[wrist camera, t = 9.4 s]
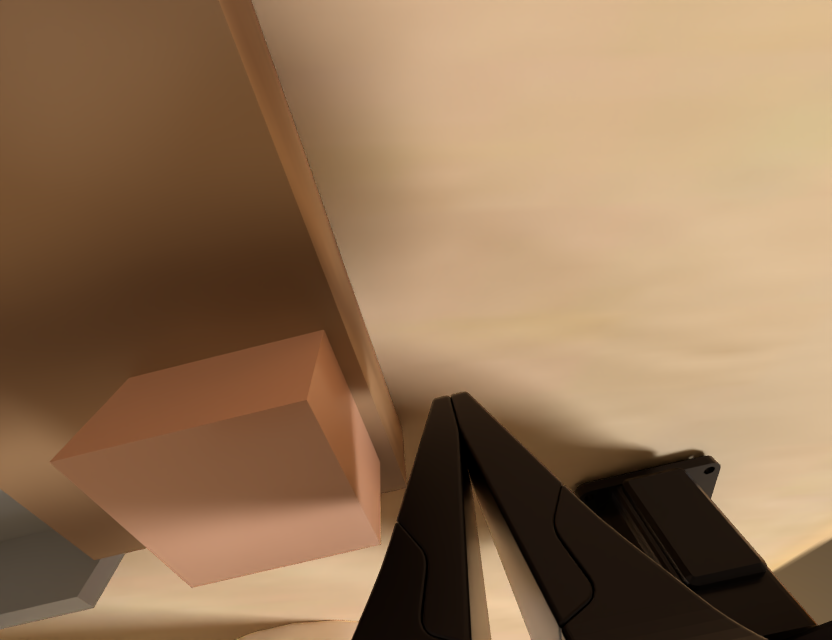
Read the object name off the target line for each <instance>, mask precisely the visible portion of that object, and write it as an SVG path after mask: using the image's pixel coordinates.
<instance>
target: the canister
mask: <svg viewBox="0 0 832 640" xmlns="http://www.w3.org/2000/svg"><path fill="white" fill-rule="evenodd" d="M358 623H359V621H345V620H328V621H315V622H302V623H291V624H287V625H283V626H278V627H274V628H270V629H265V630H261V631H256V632H252V633H250V634H247V635H245V636H243V637H240V638H238V639H236V640H351V639H352V637H353V634H354V632H355V630H356V627H357V625H358Z"/></svg>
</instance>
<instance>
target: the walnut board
mask: <svg viewBox="0 0 832 640" xmlns="http://www.w3.org/2000/svg"><path fill="white" fill-rule="evenodd" d="M320 330H324V331H325V333H326V335H327V338H328V340H329V342H330V345H331V347H332V349H333V352H334V354H335V357H336V359H337V361H338V364H339V366H340V368H341V371H342V373H343V375H344V378H345V380H346V383H347V385H348V387H349V390H350V392H351V394H352V397H353V399H354V401H355V404H356V406H357V409H358V411H359V413H360V416H361V418H362V420H363V423H364V425H365V427H366V430H367V432H368V435H369V437H370V439H371V442H372V444H373V446H374V449H375V451H376V453H377V456H378V458H379V461H380V494H382V493H386V492H390V491H394V490H399V489H403V488H407V482H406V469H405V457H404V445H403V432H402V428H401V425H400V422H399V420H398V417H397V414H396V411H395V408H394V405H393V403H392V400H391V397H390V394H389V391H388V388H387V386H386V383H385V380H384V377H383V374H382V371H381V368H380V366H379V363H378V360H377V357H376V354H375V351H374V349H373V346H372V343H371V340H370V337H369V334H368V332H367V329H366V326H365V323H364V320H363V317H362V314H361V312H360V309H359V306H358V303H357V300H356V297H355V295H354V292H353V289H352V286H351V283H350V280H349V278H348V275H347V272H346V269H345V266H344V263H343V260H342V258H341V255H340V252H339V249H338V246H337V243H336V241H335V238H334V235H333V232H332V229H331V226H330V223H329V221H328V218H327V215H326V212H325V209H324V206H323V204H322V201H321V198H320V195H319V192H318V189H317V187H316V184H315V181H314V178H313V175H312V172H311V169H310V167H309V164H308V161H307V158H306V155H305V152H304V150H303V147H302V144H301V141H300V138H299V135H298V133H297V130H296V127H295V124H294V121H293V118H292V115H291V113H290V110H289V107H288V104H287V101H286V98H285V96H284V93H283V90H282V87H281V84H280V81H279V79H278V76H277V73H276V70H275V67H274V64H273V61H272V59H271V56H270V53H269V50H268V47H267V44H266V42H265V39H264V36H263V33H262V30H261V27H260V25H259V22H258V19H257V16H256V13H255V10H254V7H253V5H252V2H251V0H0V489H1V490H2V491H4V492H5V493H6V494H8V495H9V496H10V497H12V498H13V499H14V500H16V501H17V502H18V503H19V504H21V505H22V506H23V507H25V508H26V509H27V510H29V511H30V512H31V513H33V514H34V515H35V516H37V517H38V518H39V519H40V520H42V521H43V522H44V523H46V524H47V525H48V526H50V527H51V528H52V529H54V530H55V531H56V532H58V533H59V534H60V535H62V536H63V537H64V538H65V539H67V540H68V541H69V542H71V543H72V544H73V545H75V546H76V547H77V548H79V549H80V550H81V551H83V552H84V553H85V554H86V555H88V556H89V557H90V558H92V559H93V560H98V559H102V558H106V557H111V556H115V555H119V554H124V553H128V552H132V551H136V550H141V549H145V548H146V547H145V546H144V545H143V544H142V543H140V542H139V541H138V540H137V539H136V538H135V537H134V536H133V535H131V534H130V533H129V532H128V531H127V530H126V529H125V528H123V527H122V526H121V525H120V524H119V523H118V522H117V521H116V520H114V519H113V518H112V517H111V516H110V515H109V514H108V513H106V512H105V511H104V510H103V509H102V508H101V507H100V506H99V505H97V504H96V503H95V502H94V501H93V500H92V499H91V498H89V497H88V496H87V495H86V494H85V493H84V492H83V491H82V490H80V489H79V488H78V487H77V486H76V485H75V484H74V483H72V482H71V481H70V480H69V479H68V478H67V477H66V476H65V475H63V474H62V473H61V472H60V471H59V470H58V469H57V468H55V467H54V466H53V465H52V464H51V463H50V461H51V460H52V459H53V458H54V457H55V456H56V454H57V453H58V452H59V451H60V450H61V449H62V448H63V447H64V446H65V445H66V444H67V443H68V442H69V441H70V440H71V439H72V438H73V436H74V435H75V434H76V433H77V432H78V431H79V430H80V429H81V428H82V427H83V426H84V425H85V424H86V423H87V422H88V421H89V420H90V419H91V417H92V416H93V415H94V414H95V413H96V412H97V411H98V410H99V409H100V408H101V407H102V406H103V405H104V404H105V403H106V402H107V401H108V400H109V398H110V397H111V396H112V395H113V394H114V393H115V392H116V391H117V390H118V389H119V388H120V387H121V386H122V385H123V384H124V383H125V382H126V380H127V379H128V378H131V377H135V376H139V375H143V374H147V373H151V372H155V371H159V370H163V369H167V368H171V367H175V366H179V365H183V364H187V363H191V362H195V361H199V360H203V359H207V358H211V357H215V356H219V355H223V354H227V353H231V352H235V351H239V350H243V349H247V348H251V347H256V346H260V345H264V344H268V343H272V342H276V341H280V340H284V339H288V338H292V337H296V336H300V335H304V334H308V333H312V332H316V331H320Z"/></svg>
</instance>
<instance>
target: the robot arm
mask: <svg viewBox="0 0 832 640" xmlns="http://www.w3.org/2000/svg"><path fill="white" fill-rule="evenodd" d="M468 471H469V472H468ZM719 471H720V465H719V463H718V462H717V461H716V460H715V459H714V458H713V457H712V456H702V457H698V458H694V459H689V460H685V461H681V462H676V463H672V464H668V465H663V466H659V467H655V468H650V469H646V470H641V471H637V472H633V473H628V474H624V475H620V476H615V477H611V478H607V479H602V480H598V481H593V482H589V483H585V484H582V485H580V486H579V487H577V489H576V490H575V494H574V493H573V492H571V491H570V490H569V489H568V488H567V487H566V486H565V485H563V486H562V482H561V481H560V480H559V479H558V478H557V477H556V476H554V475H553V474H552V473H551V472H550V471H549V470H548V469H547V468H546V467H545V466H544V465H543V464H542V463H541V462H540V461H539V460H538V459H537V458H536V457H535V456H534V455H533V454H531V453H530V452H529V451H528V450H527V449H526V448H525V447H524V446H523V445H522V444H521V443H520V442H519V441H518V440H517V439H516V438H515V437H514V436H513V435H512V434H511V433H509V432H508V431H507V430H506V429H505V428H504V427H503V426H502V425H501V424H500V423H499V422H498V421H497V420H496V419H495V418H494V417H493V416H492V415H491V414H490V413H489V412H488V411H486V410H485V409H484V408H483V407H482V406H481V405H480V404H479V403H478V402H477V401H476V400H475V399H474V398H473V397H472V396H471V395H470V394H469V393H467V392H460V393H456V394H452V395H451V398H450V397H449V396H443V397H439V398H435V399H434V400H433V402H432V405H431V409H430V412H429V415H428V419H427V422H426V425H425V428H424V432H423V435H422V438H421V442H420V445H419V448H418V451H417V455H416V458H415V461H414V465H413V468H412V471H411V474H410V478H409V481H408V484H407V488H406V491H405V494H404V497H403V501H402V504H401V507H400V511H399V514H398V517H397V523H396V524H395V527H394V530H393V533H392V536H391V540H390V543H389V546H388V549H387V552H386V555H385V558H384V561H383V564H382V566H381V569H380V572H379V574H378V577H377V579H376V582H375V584H374V587H373V589H372V592H371V594H370V597H369V599H368V602H367V604H366V606H365V609H364V611H363V613H362V616H361V618H360V620H359V623H358V625H357V627H356V630H355V632H354V634H353V637H352V639H351V640H491V633H490V625H489V617H488V609H487V601H486V594H485V586H484V578H483V570H482V562H481V554H480V547H479V539H478V531H477V523H476V515H475V507H474V499H473V492H472V486H471V482H472V485H473V488H474V491H475V494H476V497H477V499H478V502H479V505H480V507H481V510H482V512H483V515H484V518H485V520H486V523H487V525H488V528H489V531H490V533H491V536H492V538H493V541H494V544H495V546H496V549H497V551H498V554H499V557H500V559H501V562H502V565H503V567H504V570H505V572H506V575H507V578H508V580H509V583H510V585H511V588H512V591H513V593H514V596H515V598H516V601H517V604H518V606H519V609H520V611H521V614H522V617H523V619H524V622H525V625H526V627H527V630H528V632H529V635H530V638H531V640H832V621H829V622H827V623H824V624H822V625H818V624H817V623H816V622H815V621H814V620H813V619H812V617H811V616H810V615H809V614H808V613H807V612H806V610H805V609H804V608H803V607H802V606H801V605H800V604H799V602H798V601H797V600H796V599H795V598H794V597H793V596H792V594H791V593H790V592H789V591H788V590H787V589H786V587H785V586H784V585H783V584H782V583H781V582H780V580H779V579H778V578H777V577H776V576H775V575H774V574H773V572H772V571H771V570H770V569H769V568H768V567H767V564H766V563H765V561H764V560H763V558H762V557H761V556H760V555H759V554H758V553H757V552H756V550H755V549H754V548H753V547H752V546H751V545H750V544H749V542H748V541H747V540H746V539H745V538H744V537H743V536H742V534H741V533H740V532H739V531H738V530H737V529H736V527H735V526H734V525H733V524H732V523H731V522H730V521H729V519H728V518H727V517H726V516H725V515H724V514H723V513H722V511H721V510H720V509H719V508H718V507H717V506H716V505H715V503H714V502H713V501H712V500H711V497H712V493H713V490H714V487H715V484H716V480H717V477H718V474H719ZM469 475H470V476H469ZM470 479H471V481H470Z"/></svg>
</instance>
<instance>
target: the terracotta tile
mask: <svg viewBox="0 0 832 640" xmlns="http://www.w3.org/2000/svg"><path fill="white" fill-rule="evenodd" d="M50 463H51V464H52V465H53V466H54V467H55V468H57V469H58V470H59V471H60V472H61V473H62V474H63V475H65V476H66V477H67V478H68V479H69V480H70V481H71V482H72V483H74V484H75V485H76V486H77V487H78V488H79V489H80V490H82V491H83V492H84V493H85V494H86V495H87V496H88V497H89V498H91V499H92V500H93V501H94V502H95V503H96V504H97V505H99V506H100V507H101V508H102V509H103V510H104V511H105V512H106V513H108V514H109V515H110V516H111V517H112V518H113V519H114V520H116V521H117V522H118V523H119V524H120V525H121V526H122V527H123V528H125V529H126V530H127V531H128V532H129V533H130V534H131V535H133V536H134V537H135V538H136V539H137V540H138V541H139V542H140V543H142V544H143V545H144V546H145V547H146V548H147V549H148V550H150V551H151V552H152V553H153V554H154V555H155V556H156V557H157V558H159V559H160V560H161V561H162V562H163V563H164V564H165V565H167V566H168V567H169V568H170V569H171V570H172V571H173V572H174V573H176V574H177V575H178V576H179V577H180V578H181V579H182V580H184V581H185V582H186V583H187V584H188V585H189V586H190V587H191V588H193V587H197V586H201V585H206V584H210V583H214V582H219V581H223V580H228V579H232V578H236V577H241V576H245V575H249V574H254V573H258V572H263V571H267V570H271V569H276V568H280V567H285V566H289V565H293V564H298V563H302V562H306V561H311V560H315V559H320V558H324V557H328V556H333V555H337V554H342V553H346V552H350V551H355V550H359V549H363V548H368V547H372V546H377V545H381V503H380V461H379V458H378V456H377V453H376V451H375V449H374V446H373V444H372V442H371V439H370V437H369V435H368V432H367V430H366V427H365V425H364V423H363V420H362V418H361V416H360V413H359V411H358V409H357V406H356V404H355V401H354V399H353V397H352V394H351V392H350V390H349V387H348V385H347V383H346V380H345V378H344V375H343V373H342V371H341V368H340V366H339V364H338V361H337V359H336V357H335V354H334V352H333V349H332V347H331V345H330V342H329V340H328V338H327V335H326V333H325V331H324V330H320V331H316V332H312V333H308V334H304V335H300V336H296V337H292V338H288V339H284V340H280V341H276V342H272V343H268V344H264V345H260V346H256V347H251V348H247V349H243V350H239V351H235V352H231V353H227V354H223V355H219V356H215V357H211V358H207V359H203V360H199V361H195V362H191V363H187V364H183V365H179V366H175V367H171V368H167V369H163V370H159V371H155V372H151V373H147V374H143V375H139V376H135V377H131V378H128V379H127V380H126V382H125V383H124V384H123V385H122V386H121V387H120V388H119V389H118V390H117V391H116V392H115V393H114V394H113V395H112V396H111V397H110V398H109V400H108V401H107V402H106V403H105V404H104V405H103V406H102V407H101V408H100V409H99V410H98V411H97V412H96V413H95V414H94V415H93V416H92V417H91V419H90V420H89V421H88V422H87V423H86V424H85V425H84V426H83V427H82V428H81V429H80V430H79V431H78V432H77V433H76V434H75V435H74V436H73V438H72V439H71V440H70V441H69V442H68V443H67V444H66V445H65V446H64V447H63V448H62V449H61V450H60V451H59V452H58V453H57V454H56V456H55V457H54V458H53V459H52V460H51V461H50Z"/></svg>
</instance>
